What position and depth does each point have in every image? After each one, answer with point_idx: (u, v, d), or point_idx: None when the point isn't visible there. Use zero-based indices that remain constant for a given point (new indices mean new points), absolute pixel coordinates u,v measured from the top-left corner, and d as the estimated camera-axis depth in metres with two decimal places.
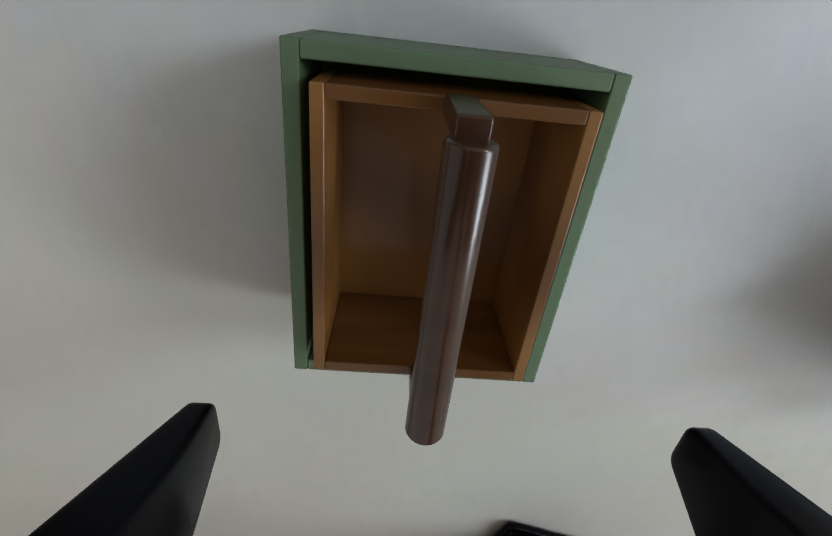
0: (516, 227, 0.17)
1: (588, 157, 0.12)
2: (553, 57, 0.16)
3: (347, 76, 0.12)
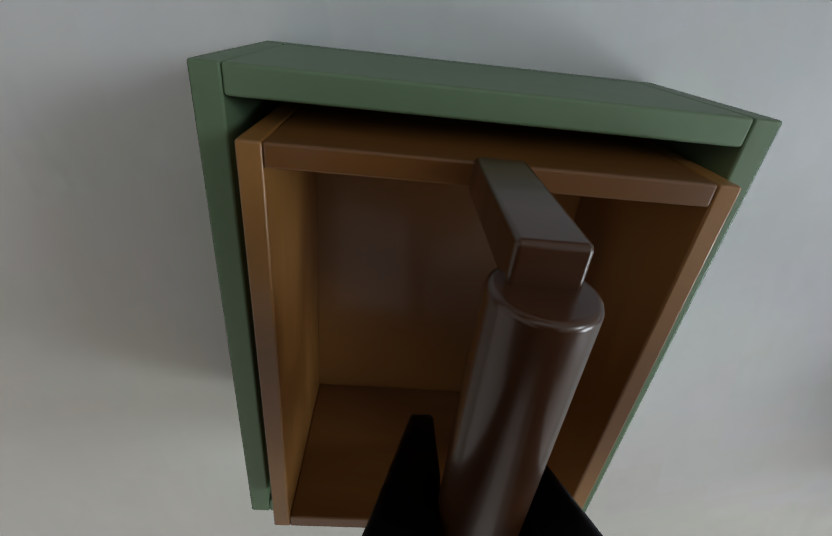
0: None
1: (705, 254, 0.07)
2: (618, 80, 0.11)
3: (310, 120, 0.08)
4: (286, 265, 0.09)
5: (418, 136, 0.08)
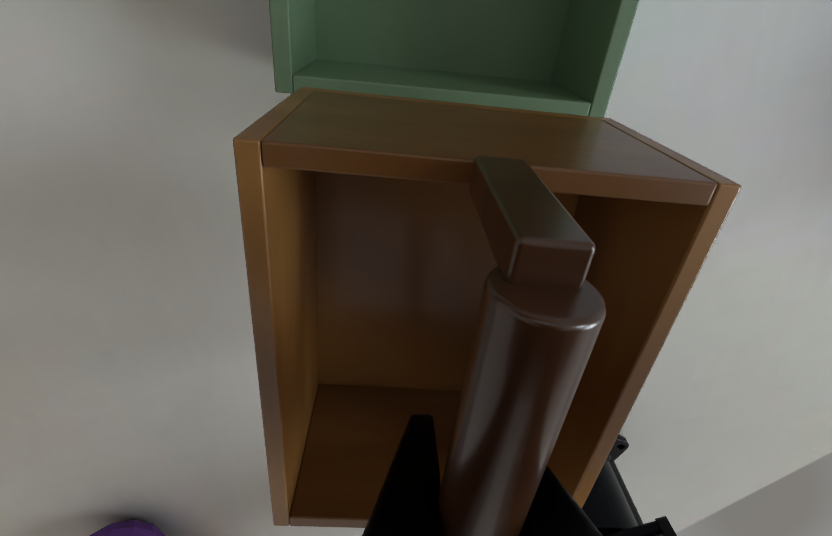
0: None
1: (705, 253, 0.07)
2: None
3: (309, 119, 0.08)
4: (285, 265, 0.09)
5: (417, 135, 0.08)
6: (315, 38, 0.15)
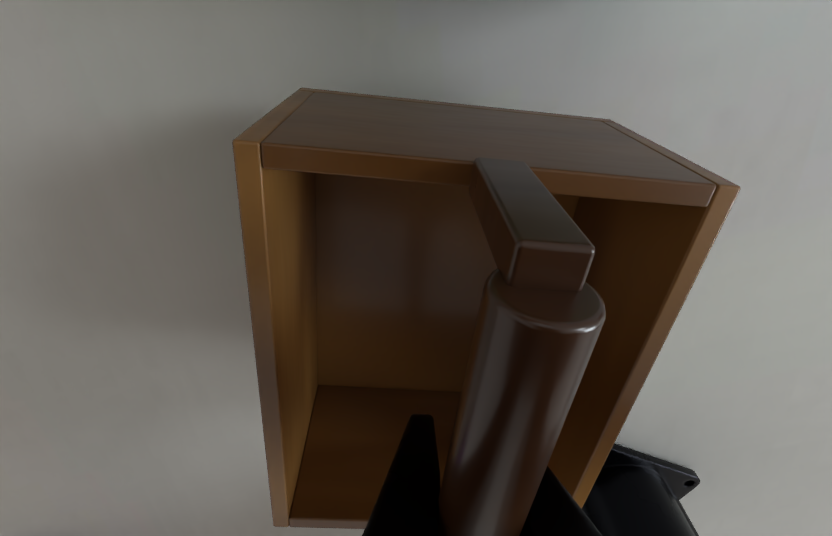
0: None
1: (704, 254, 0.07)
2: None
3: (308, 121, 0.08)
4: (284, 266, 0.09)
5: (417, 136, 0.08)
6: None
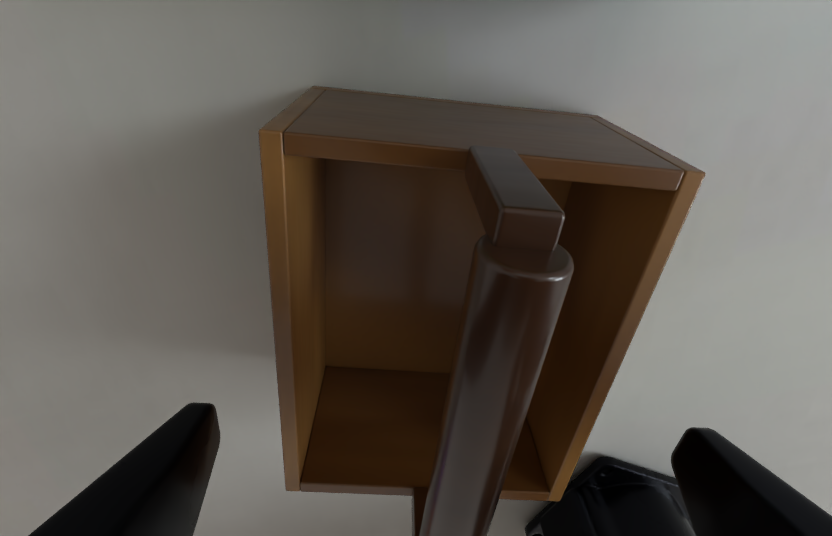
0: None
1: (676, 234, 0.08)
2: None
3: (322, 114, 0.09)
4: (299, 246, 0.09)
5: (419, 128, 0.08)
6: None
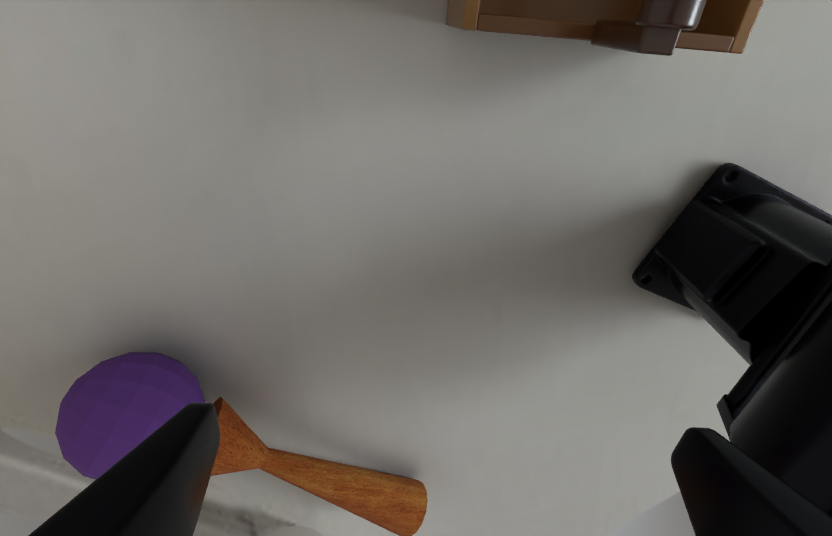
0: None
1: None
2: None
3: None
4: None
5: None
6: None
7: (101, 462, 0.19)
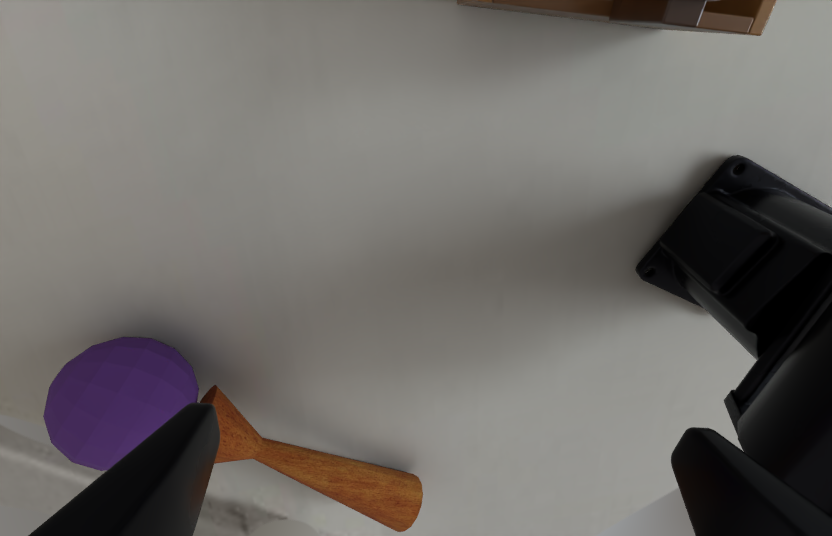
0: None
1: None
2: None
3: None
4: None
5: None
6: None
7: (90, 448, 0.18)
